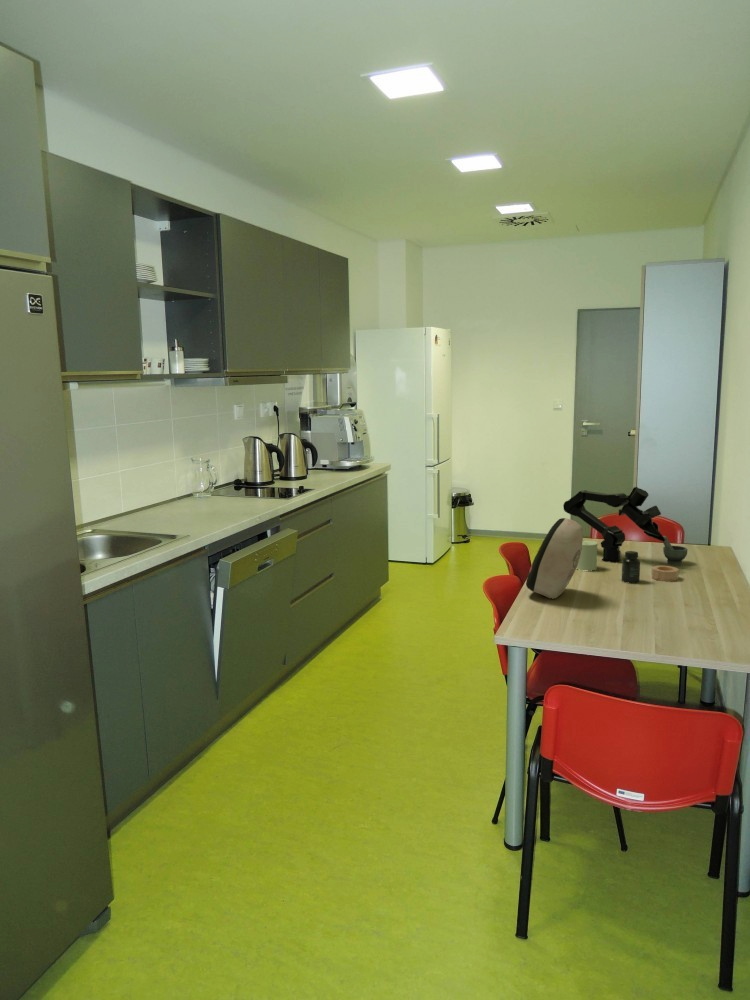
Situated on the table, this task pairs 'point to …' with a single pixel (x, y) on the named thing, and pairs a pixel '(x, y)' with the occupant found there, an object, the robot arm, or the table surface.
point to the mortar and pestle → (674, 553)
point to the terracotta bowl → (665, 573)
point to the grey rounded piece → (556, 559)
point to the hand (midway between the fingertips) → (662, 538)
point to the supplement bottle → (631, 567)
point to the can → (588, 556)
